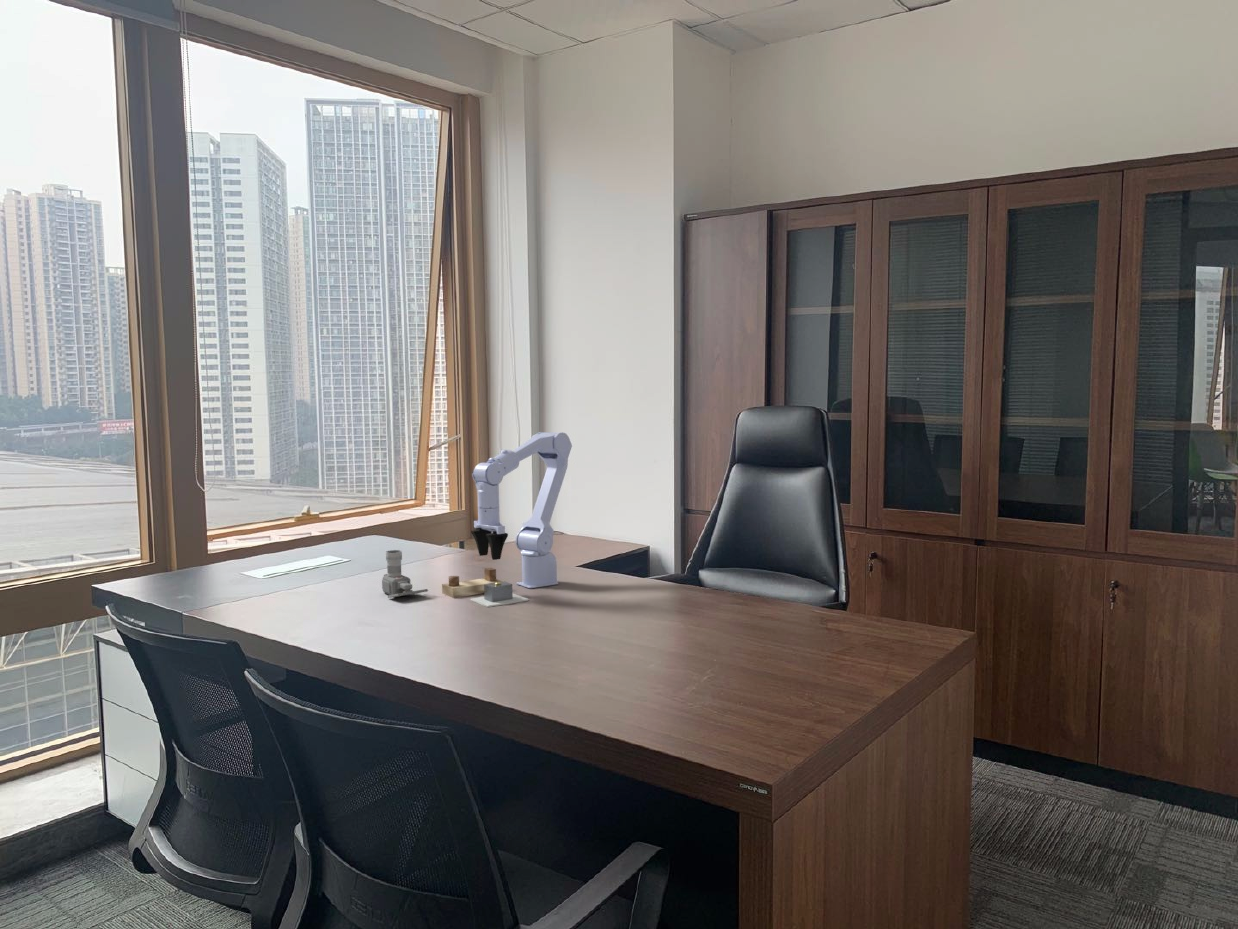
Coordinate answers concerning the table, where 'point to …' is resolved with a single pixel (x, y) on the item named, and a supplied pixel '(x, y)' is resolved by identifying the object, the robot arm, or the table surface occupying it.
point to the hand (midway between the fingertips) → (489, 557)
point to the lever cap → (498, 591)
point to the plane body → (468, 585)
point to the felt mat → (489, 604)
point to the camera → (396, 577)
